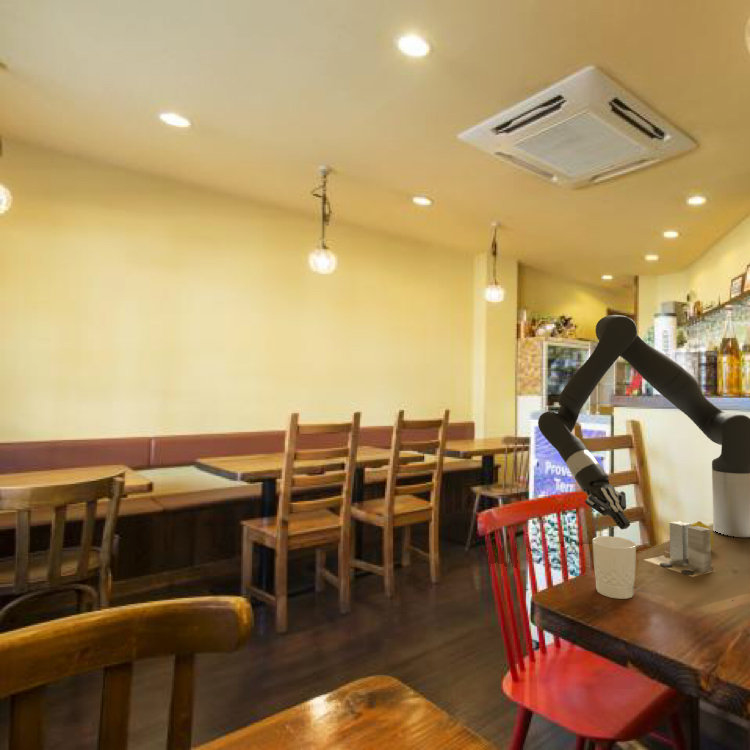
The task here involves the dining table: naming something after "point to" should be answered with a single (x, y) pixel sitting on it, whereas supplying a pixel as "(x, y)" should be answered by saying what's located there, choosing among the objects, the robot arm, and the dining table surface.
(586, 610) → the dining table surface
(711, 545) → the lemon
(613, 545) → the white cup
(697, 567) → the gauge board
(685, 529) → the block
